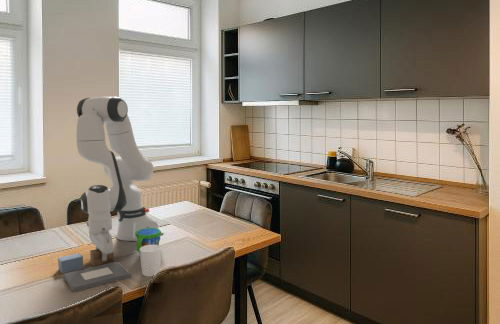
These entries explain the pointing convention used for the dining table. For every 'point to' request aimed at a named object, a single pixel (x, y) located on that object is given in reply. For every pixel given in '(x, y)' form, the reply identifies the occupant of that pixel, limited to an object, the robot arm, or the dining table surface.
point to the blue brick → (70, 263)
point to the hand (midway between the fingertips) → (102, 257)
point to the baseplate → (96, 276)
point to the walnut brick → (97, 255)
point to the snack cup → (147, 237)
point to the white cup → (150, 259)
